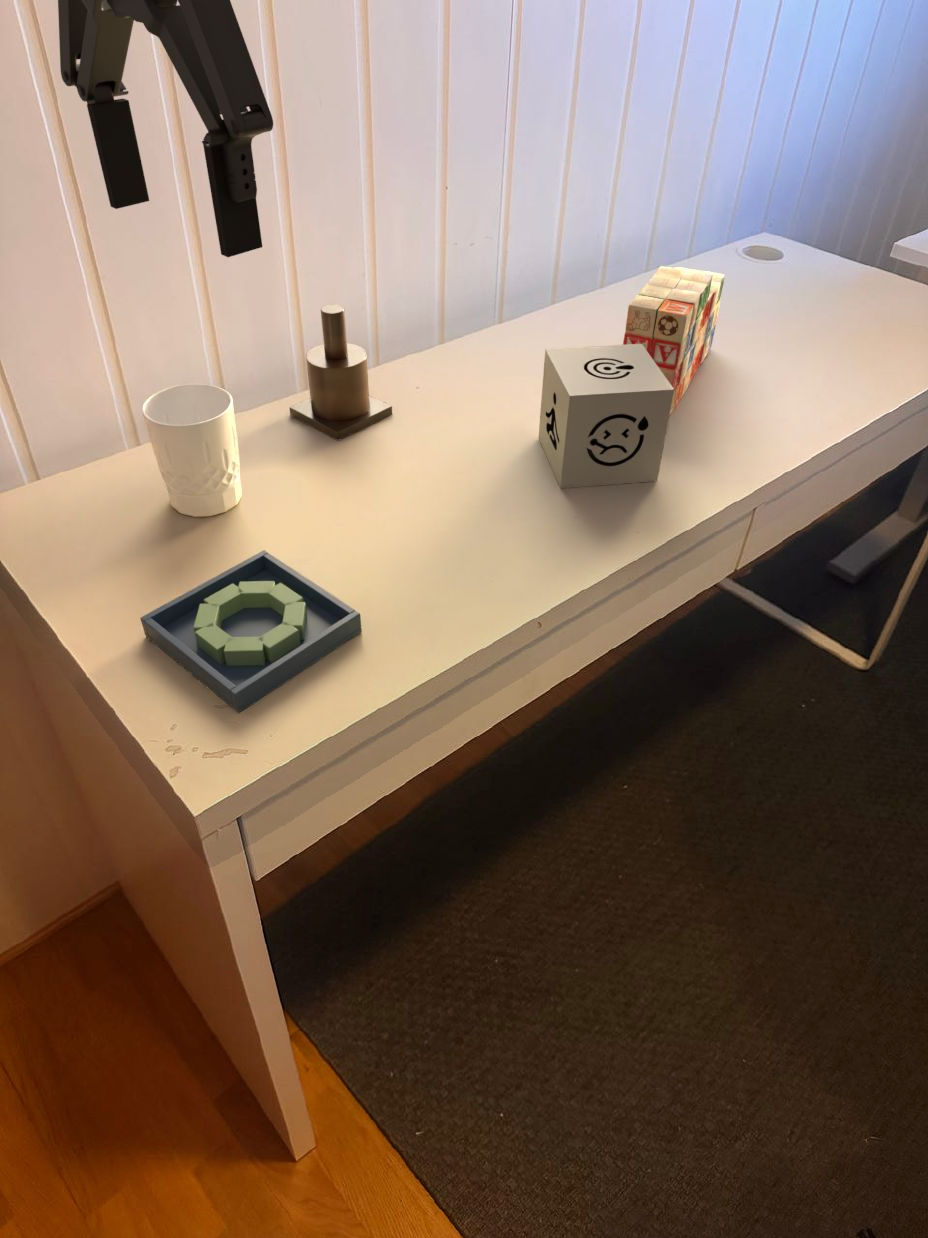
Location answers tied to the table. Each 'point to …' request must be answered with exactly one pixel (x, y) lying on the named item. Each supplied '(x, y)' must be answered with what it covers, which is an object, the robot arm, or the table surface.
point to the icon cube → (603, 415)
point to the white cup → (195, 447)
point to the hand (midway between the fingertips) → (183, 226)
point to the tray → (251, 631)
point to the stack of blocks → (676, 322)
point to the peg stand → (338, 383)
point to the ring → (250, 648)
